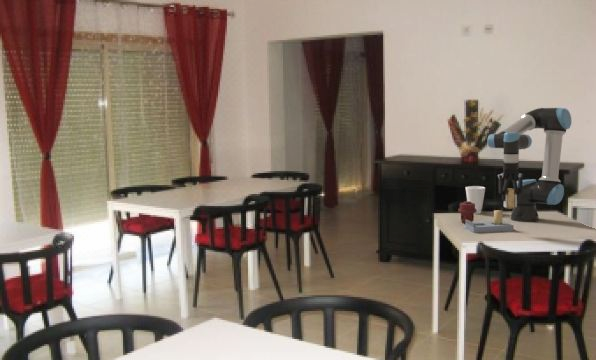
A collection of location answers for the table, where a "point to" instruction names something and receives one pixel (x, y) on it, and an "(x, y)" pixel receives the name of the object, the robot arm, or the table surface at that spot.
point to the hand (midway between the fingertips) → (510, 206)
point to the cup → (476, 196)
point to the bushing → (510, 198)
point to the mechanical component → (467, 211)
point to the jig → (490, 224)
